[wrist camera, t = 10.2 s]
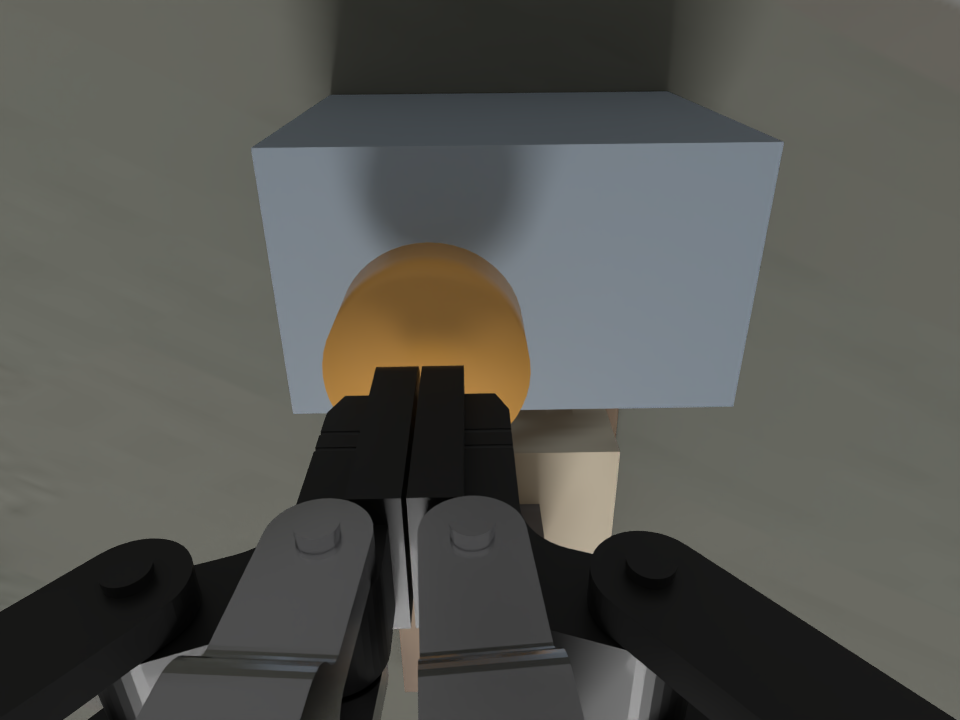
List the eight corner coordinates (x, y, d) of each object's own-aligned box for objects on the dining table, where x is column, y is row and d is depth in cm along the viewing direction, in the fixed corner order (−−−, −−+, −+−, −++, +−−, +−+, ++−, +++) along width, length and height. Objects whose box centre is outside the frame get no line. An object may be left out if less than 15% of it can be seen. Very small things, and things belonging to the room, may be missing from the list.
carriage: (599, 389, 28) (655, 554, 19) (587, 523, 31) (631, 713, 23) (400, 392, 28) (373, 559, 19) (410, 526, 31) (390, 718, 23)
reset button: (525, 241, 14) (534, 275, 12) (520, 407, 16) (527, 458, 14) (329, 243, 14) (309, 278, 12) (348, 410, 16) (333, 461, 14)
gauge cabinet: (668, 91, 24) (783, 141, 15) (647, 276, 28) (732, 406, 19) (312, 95, 24) (223, 148, 15) (334, 281, 27) (271, 414, 18)
